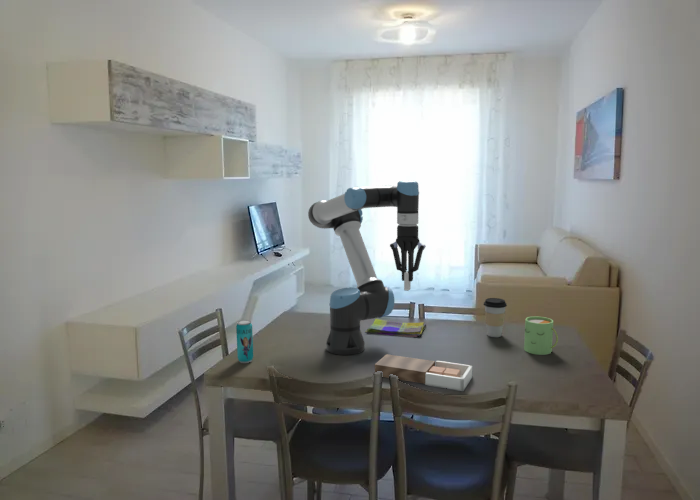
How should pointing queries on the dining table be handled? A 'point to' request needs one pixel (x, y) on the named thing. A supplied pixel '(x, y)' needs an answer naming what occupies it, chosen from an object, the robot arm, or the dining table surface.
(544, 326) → the mug
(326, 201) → the robot arm
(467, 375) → the tray
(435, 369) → the salmon pink block
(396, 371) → the board
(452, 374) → the tile
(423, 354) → the dining table surface
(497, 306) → the coffee cup
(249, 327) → the beverage can
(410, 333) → the dish towel
